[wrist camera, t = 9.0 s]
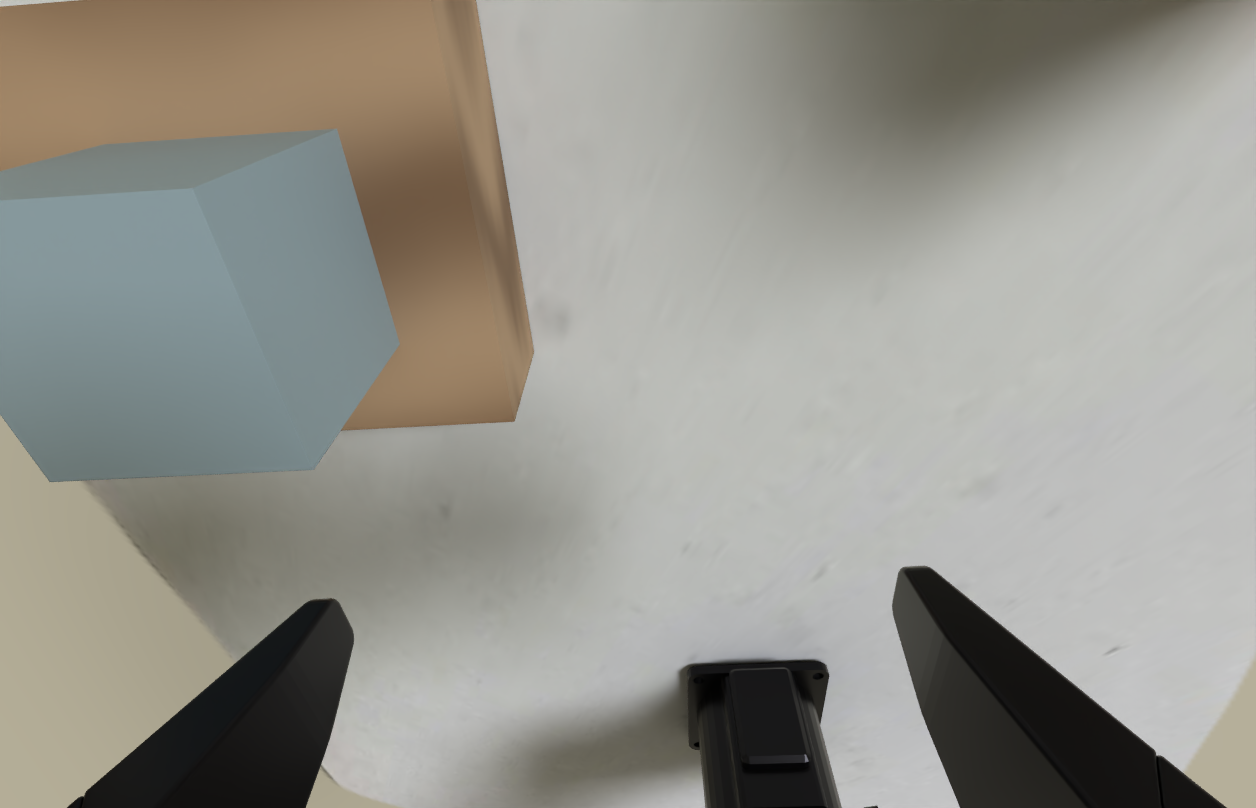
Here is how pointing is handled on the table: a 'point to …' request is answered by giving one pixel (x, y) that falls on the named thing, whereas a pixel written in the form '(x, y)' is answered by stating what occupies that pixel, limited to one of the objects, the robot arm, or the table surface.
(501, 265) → the walnut block
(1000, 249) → the table surface
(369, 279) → the slate block
